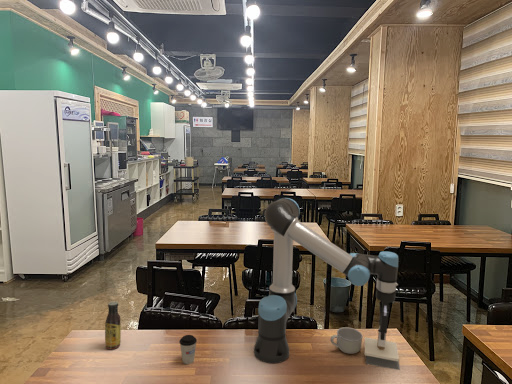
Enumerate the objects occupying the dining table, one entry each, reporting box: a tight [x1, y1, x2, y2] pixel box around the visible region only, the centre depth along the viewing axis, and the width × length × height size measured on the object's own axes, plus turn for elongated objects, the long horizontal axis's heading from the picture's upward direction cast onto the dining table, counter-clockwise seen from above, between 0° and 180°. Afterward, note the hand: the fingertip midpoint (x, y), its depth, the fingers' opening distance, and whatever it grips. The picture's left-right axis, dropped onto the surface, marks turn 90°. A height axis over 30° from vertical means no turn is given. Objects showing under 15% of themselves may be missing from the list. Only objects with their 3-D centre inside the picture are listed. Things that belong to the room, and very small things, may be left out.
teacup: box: [330, 326, 363, 355], centre depth 159 cm, size 14×11×8 cm
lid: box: [364, 331, 400, 363], centre depth 153 cm, size 13×13×8 cm
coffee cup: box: [179, 334, 197, 365], centre depth 149 cm, size 7×7×10 cm
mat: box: [365, 355, 401, 371], centre depth 153 cm, size 13×13×1 cm
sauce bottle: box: [104, 300, 122, 350], centre depth 159 cm, size 7×6×20 cm
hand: (381, 343), depth 153 cm, fingers closed on lid, 3 cm apart
